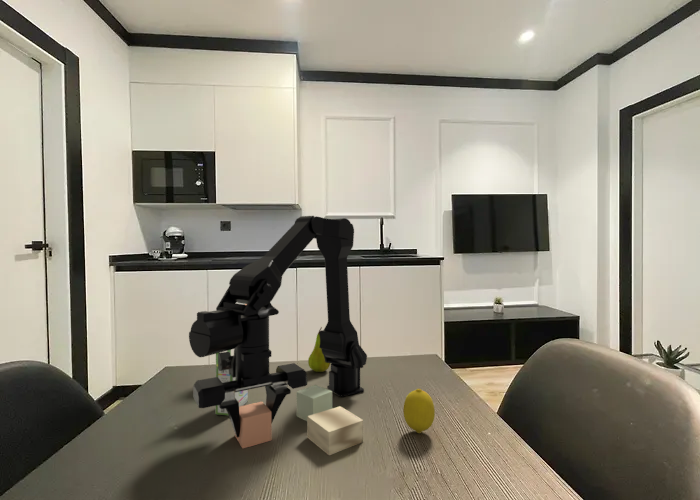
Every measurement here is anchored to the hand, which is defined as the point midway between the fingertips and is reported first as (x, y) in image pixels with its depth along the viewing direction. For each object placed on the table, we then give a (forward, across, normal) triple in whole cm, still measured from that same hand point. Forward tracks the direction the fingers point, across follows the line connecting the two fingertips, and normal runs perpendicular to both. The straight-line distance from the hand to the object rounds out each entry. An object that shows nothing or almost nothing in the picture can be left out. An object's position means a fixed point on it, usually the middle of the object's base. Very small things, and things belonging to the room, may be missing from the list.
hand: (252, 431), depth 66 cm
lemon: (+1, -26, +14) cm, 30 cm away
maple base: (+1, -12, +8) cm, 14 cm away
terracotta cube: (+1, 0, 0) cm, 1 cm away
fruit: (+1, -26, -25) cm, 36 cm away
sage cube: (+1, -13, -2) cm, 13 cm away
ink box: (+1, 0, -14) cm, 14 cm away
